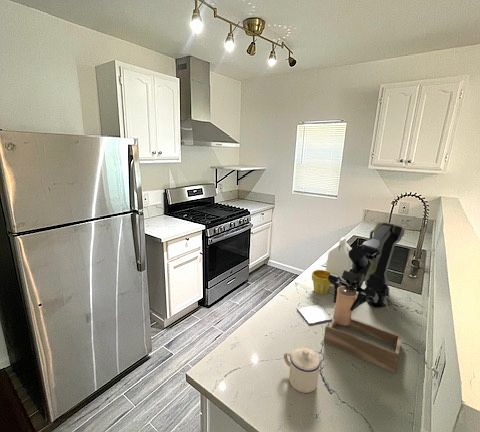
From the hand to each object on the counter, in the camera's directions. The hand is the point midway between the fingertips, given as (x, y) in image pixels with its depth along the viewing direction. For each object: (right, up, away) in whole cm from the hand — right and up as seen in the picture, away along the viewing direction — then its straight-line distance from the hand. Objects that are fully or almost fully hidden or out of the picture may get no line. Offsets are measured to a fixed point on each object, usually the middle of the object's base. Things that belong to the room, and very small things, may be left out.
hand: (342, 306), depth 100 cm
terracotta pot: (+1, -6, +3) cm, 7 cm away
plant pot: (+3, -5, +36) cm, 37 cm away
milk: (+15, -3, +45) cm, 48 cm away
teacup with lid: (-20, -18, -16) cm, 31 cm away
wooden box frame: (+7, -14, 0) cm, 16 cm away
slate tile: (-6, -10, +17) cm, 20 cm away
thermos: (+34, -3, +43) cm, 55 cm away
